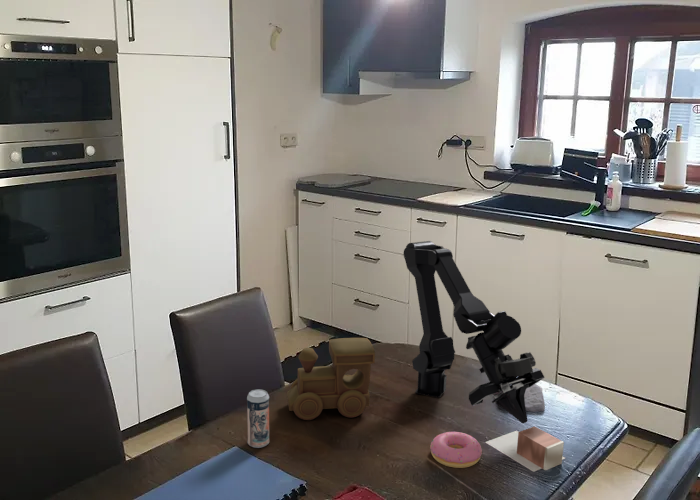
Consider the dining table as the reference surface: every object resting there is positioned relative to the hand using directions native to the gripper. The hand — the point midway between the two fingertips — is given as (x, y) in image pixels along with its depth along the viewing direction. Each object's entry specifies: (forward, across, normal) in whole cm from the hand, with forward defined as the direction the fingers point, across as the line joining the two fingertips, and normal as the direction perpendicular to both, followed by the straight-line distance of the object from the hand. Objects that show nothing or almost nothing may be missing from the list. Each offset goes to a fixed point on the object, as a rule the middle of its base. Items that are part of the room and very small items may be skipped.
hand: (525, 422), depth 150 cm
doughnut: (+1, -14, +9) cm, 17 cm away
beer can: (-18, -48, +28) cm, 58 cm away
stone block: (-6, +17, +16) cm, 24 cm away
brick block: (+3, 0, +2) cm, 4 cm away
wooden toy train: (-22, -26, +32) cm, 47 cm away
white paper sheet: (+5, 0, +4) cm, 7 cm away
